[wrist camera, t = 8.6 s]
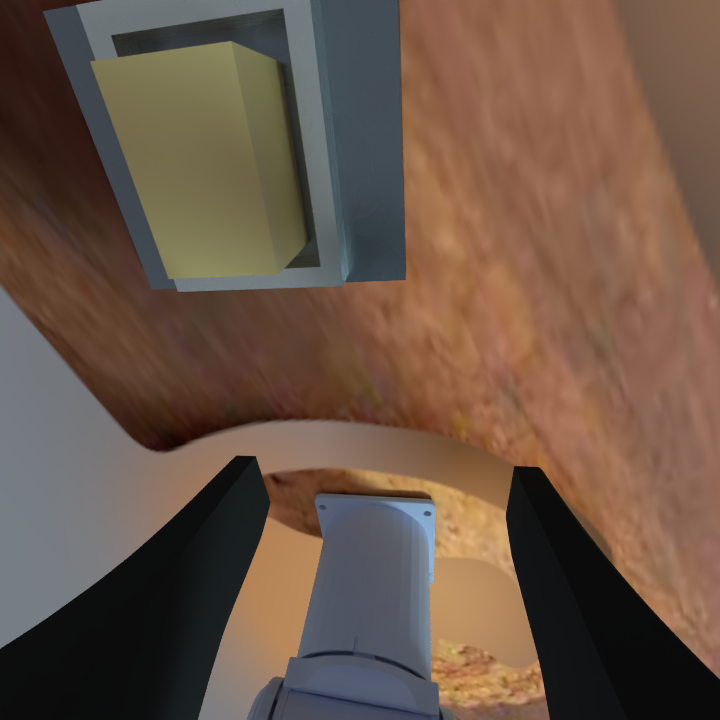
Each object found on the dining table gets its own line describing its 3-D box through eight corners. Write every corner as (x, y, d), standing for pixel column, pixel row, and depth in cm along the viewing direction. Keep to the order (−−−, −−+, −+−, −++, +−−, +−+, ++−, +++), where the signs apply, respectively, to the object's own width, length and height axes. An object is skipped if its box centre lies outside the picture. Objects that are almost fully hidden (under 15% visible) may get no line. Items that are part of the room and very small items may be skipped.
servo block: (308, 242, 16) (278, 274, 13) (219, 246, 17) (168, 278, 13) (280, 61, 13) (230, 41, 9) (172, 76, 13) (90, 61, 10)
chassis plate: (406, 272, 17) (404, 293, 15) (163, 282, 19) (131, 301, 17) (398, -39, 12) (393, -74, 10) (65, 17, 14) (1, -1, 12)
